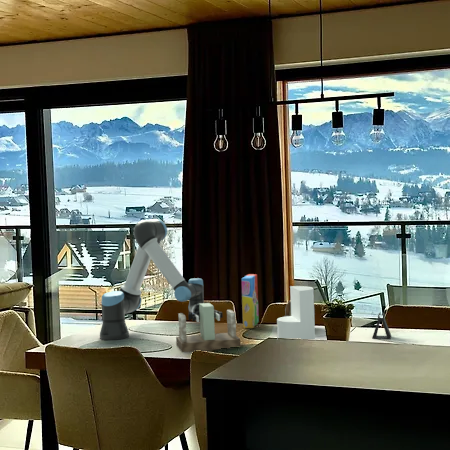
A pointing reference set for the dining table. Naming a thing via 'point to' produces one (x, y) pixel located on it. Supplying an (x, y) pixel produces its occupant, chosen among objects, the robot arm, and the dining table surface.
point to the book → (207, 321)
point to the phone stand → (388, 334)
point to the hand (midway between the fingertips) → (208, 318)
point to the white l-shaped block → (299, 315)
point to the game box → (250, 301)
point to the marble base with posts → (199, 343)
